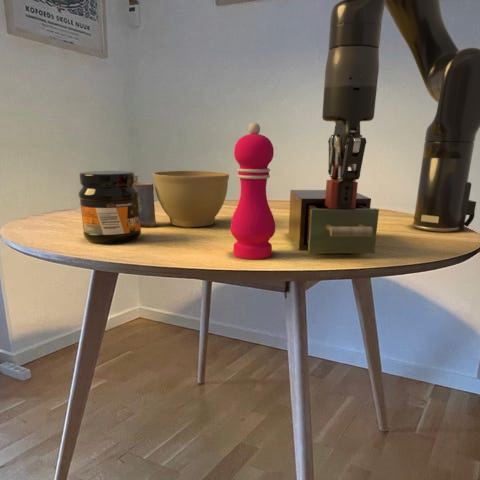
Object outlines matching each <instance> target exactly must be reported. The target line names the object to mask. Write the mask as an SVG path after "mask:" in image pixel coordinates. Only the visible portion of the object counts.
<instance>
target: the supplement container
mask: <svg viewBox="0 0 480 480" xmlns="http://www.w3.org/2000/svg"><path fill="white" fill-rule="evenodd" d="M134 174H135V172H133V171H128V170H91V171H90V170H89V171H82V172H79V183H80V185H81V186H82V187H81V188H80V190H79V191H78V198H79V202H80V203H79V204H80V210H81V211H80V212H81V219H82V228H83V229H82V230H83V237H84V239H85V240H87V241H88V242H90V243H93V244H101V245H103V244H104V245H112V244H114V245H115V244H124V243H130V242H133V241H137V239H139V238H140V237H141V235H142V228H141V226H140V216H139V202H138V196H139V193H138V191H137V189H136V188H135V187H134V185H133V184H134V183H135V176H134Z"/></svg>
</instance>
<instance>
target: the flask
mask: <svg viewBox="0 0 480 480" xmlns="http://www.w3.org/2000/svg"><path fill="white" fill-rule="evenodd" d="M134 176H135V183H134V184H133V185H134V187H135V188H136V189H137V191H138V193H139V196H138V202H139V216H140V227H141V228H142V227H143V228H154V227H156V226H157V222H156V221H157V219H156V209H155V208H156V207H155V194H154V189H155V186H154V183H152V182H151V183H150V182H149V183H148V182H138V180H139V179H138V178H139V174H137V173H136V174H135V173H134Z"/></svg>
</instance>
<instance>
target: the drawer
mask: <svg viewBox="0 0 480 480" xmlns="http://www.w3.org/2000/svg"><path fill="white" fill-rule="evenodd" d="M379 213H380V209H379V208H370V209H369V208H367V207H365V206H363V205H361V204H359V203H356V207H355V209H330V208H328V207H327V206H325V204H306V215H305V234H304V240H305V241H306V242H307V243H308V250H307V252H308V254H375V251H376V250H375V249H376V240H377V234H378V233H377V232H378V222H379Z"/></svg>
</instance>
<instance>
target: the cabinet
mask: <svg viewBox="0 0 480 480" xmlns="http://www.w3.org/2000/svg"><path fill="white" fill-rule="evenodd" d="M289 193H290V194H289V218H288V219H289V220H288V236H289V237H290V238H291V240H292V242H293V244H295V246H296V247H297V249H298V250H299V251H308V243H307V242H306V241H305V240H304V234H305V215H306V204H325V196H326V189H290V192H289ZM356 203H359V204H361V205H363V206H365V207H367V208H369V209H371V204H372V198H371V197H369V196H366V195H363V194H361V193H360V192H359V193H358V192H357V197H356Z"/></svg>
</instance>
